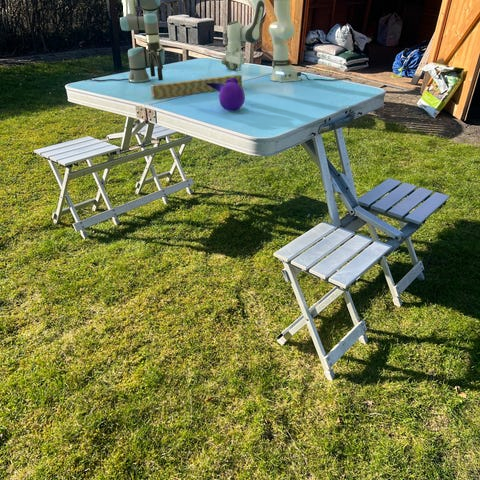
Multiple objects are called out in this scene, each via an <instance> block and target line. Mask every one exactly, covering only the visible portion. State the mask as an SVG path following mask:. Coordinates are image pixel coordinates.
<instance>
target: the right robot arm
mask: <svg viewBox="0 0 480 480" xmlns="http://www.w3.org/2000/svg"><path fill="white" fill-rule="evenodd" d="M247 2H248V4H249V6H250V7H252V8H253V16H252V21H251V24H250V25H245V24H242V22H239V21H238V20H233V21H230V22H228V23H227V28H226V38H227V45H226V46H224V50H225V51H224V52H225V54H224V55H225V57H226V60H227V61H228V62H229V64H230V66H231V69H234V66H233V63H235V64H238V68H237V69H236V71H237V72H241V69H242V65H244V64H245V60H244V58H245V54H244V52H243V50H242V42H246V43H250V44H256V43H257V42H258V41H259V40H260V37H261V27H262V23H263V19H264V14H265V7H266V6H265V0H247ZM273 13H274V15H275V18H276V21H273V22H271V23H270V24H269V26H268V33H269V35H270V38H271V42H272V49H273V51H272V53H273V55H272V56H273V57H272V58H273V59H272V63H271V64H272V73H271V77H270V80H271V81H273V82H280V83H288V82H299V81H302V78H301V76H304V77H306V80H307V81H327V82H332V81H333V82H335V81H342V80H349V81H352V79H351V78H350V77H344V78H335V79H334V78H333V79H325V78H314V79H313V78H312V79H311V78H309V77H308V75H307V74H305V73H302V71H298V70H297V69H296V68H295V67H294V66H293V65H292V64H293V60H291V59H289V53H290V51H289V50H290V48H289V46H288V43H287V40H291V39H292V38H293V37H294V36H295V34H296V27H295V26H294V25H293V20H292V16H291V0H273ZM350 127H351V126H350V125H348V130H347V137H349V136H350Z"/></svg>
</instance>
